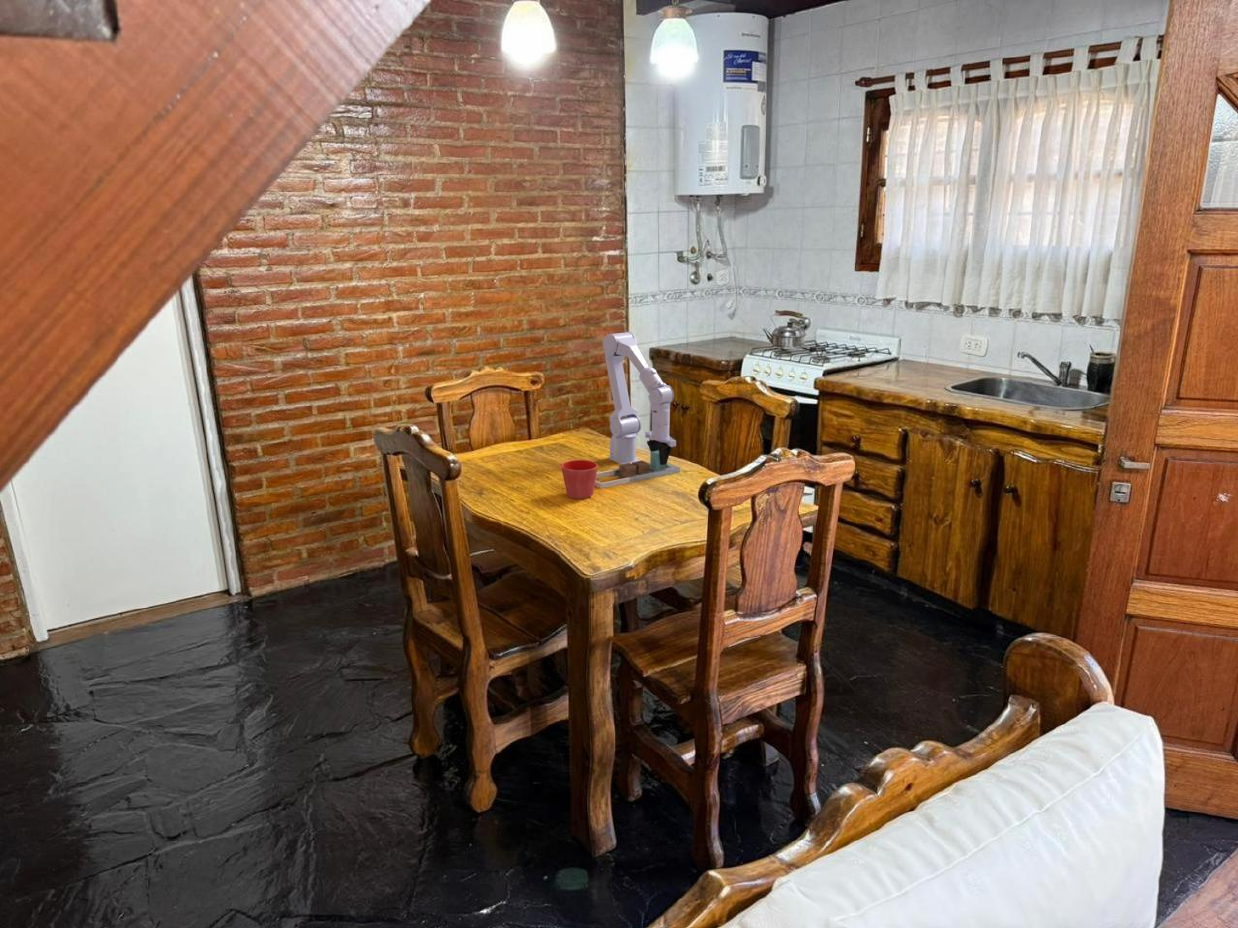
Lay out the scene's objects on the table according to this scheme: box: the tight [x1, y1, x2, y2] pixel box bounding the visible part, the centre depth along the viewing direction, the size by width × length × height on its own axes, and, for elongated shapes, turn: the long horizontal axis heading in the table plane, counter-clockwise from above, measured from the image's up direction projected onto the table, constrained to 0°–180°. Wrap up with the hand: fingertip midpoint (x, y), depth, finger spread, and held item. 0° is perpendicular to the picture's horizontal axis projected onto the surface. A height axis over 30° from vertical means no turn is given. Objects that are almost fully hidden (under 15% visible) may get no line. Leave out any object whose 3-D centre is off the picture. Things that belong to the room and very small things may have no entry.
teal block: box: [649, 450, 665, 472], centre depth 274 cm, size 6×5×6 cm
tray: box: [594, 469, 631, 489], centre depth 265 cm, size 10×11×2 cm
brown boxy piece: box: [618, 463, 636, 479], centre depth 269 cm, size 4×4×4 cm
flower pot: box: [561, 459, 599, 500], centre depth 252 cm, size 11×11×10 cm
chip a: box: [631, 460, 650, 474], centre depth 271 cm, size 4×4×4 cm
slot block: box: [612, 461, 681, 483], centre depth 273 cm, size 10×20×2 cm, turn 123°
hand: (659, 462), depth 275 cm, fingers closed on teal block, 3 cm apart
